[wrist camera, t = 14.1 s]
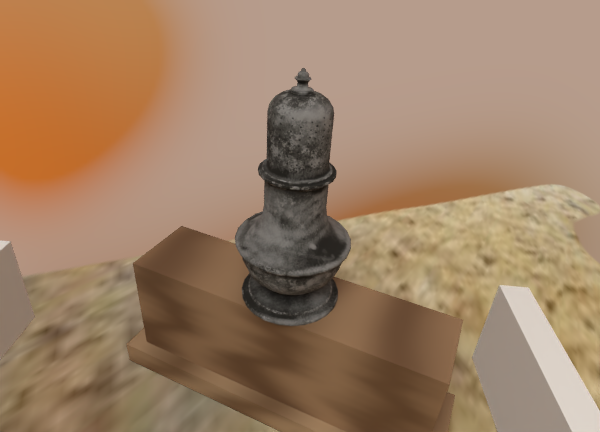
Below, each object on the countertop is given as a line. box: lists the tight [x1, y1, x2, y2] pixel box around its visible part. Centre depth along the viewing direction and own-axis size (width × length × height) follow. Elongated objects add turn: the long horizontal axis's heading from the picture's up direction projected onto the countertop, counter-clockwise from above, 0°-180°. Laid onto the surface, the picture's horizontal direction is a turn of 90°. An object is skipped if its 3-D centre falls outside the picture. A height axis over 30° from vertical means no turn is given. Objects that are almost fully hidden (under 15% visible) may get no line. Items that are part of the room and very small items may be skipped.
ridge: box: [127, 226, 463, 432], centre depth 27 cm, size 20×6×8 cm, turn 65°
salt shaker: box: [235, 68, 351, 326], centre depth 22 cm, size 6×6×12 cm
